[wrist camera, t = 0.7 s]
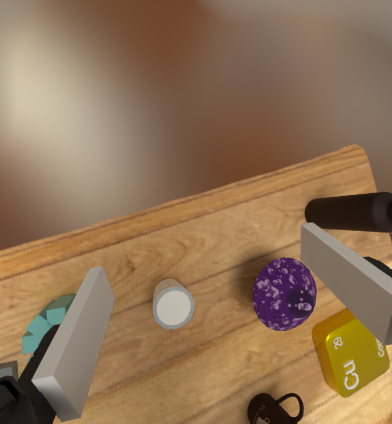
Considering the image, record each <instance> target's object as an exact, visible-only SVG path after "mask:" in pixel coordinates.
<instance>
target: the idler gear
mask: <svg viewBox="0 0 392 424" xmlns="http://www.w3.org/2000/svg"><path fill="white" fill-rule="evenodd" d="M75 296H76V294H71V295H64V296H60V297H59V298H58V299H57V300H56V301H55V300H53V301H52V302H51V303H50V304H49V305H48V306H47V307H45V308H44V309H43V310H42V311H41V312H40V313H39V314H38V315H37V316H36V318H35V319H34V320H33V321H32V322H31V323H30V324H29V325H28V326H27V327H26V328H25V329H26V330H27V332H26V333H25V334H24V335H23V337H22V347H23V354H27V353H32V352H35V350H36V348H38V345H39V343H40V341H41V340H42V338H43V336H44V335H45V334H46V332H47V331H48V330H49V329H50V328H51V327H52V326H53V325H57V324H61V323H62V321H63V319H64V317H65V315H66V313H67V311H68V310H69V308H70V306H71V304H72V302H73V300H74V298H75ZM32 356H33V354H32V355H31V357H32ZM31 357H30V358H29V359H28V362H29V360H30V359H31Z"/></svg>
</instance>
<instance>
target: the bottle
mask: <svg viewBox="0 0 392 424" xmlns="http://www.w3.org/2000/svg"><path fill="white" fill-rule="evenodd" d="M305 215H306V219H307V221H308V223H312V222H313V223H314V224H315V225H317V226H318V227H320V228H321V229H337V230H353V231H369V232H385V233H388V232H391V231H392V194H391V193H389V192H378V193H368V194H358V195H348V196H339V197H329V198H319V199H314V200H312V201H311V202H309V204H308V205H307V208H306V214H305Z"/></svg>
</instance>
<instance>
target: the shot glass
mask: <svg viewBox="0 0 392 424" xmlns="http://www.w3.org/2000/svg"><path fill="white" fill-rule="evenodd" d="M193 312H194V299H193V297H192V295H191V293H190V292H188V291H187V290H186V289H185V288H184V287H183V286H182V285H181V284H180V283H179V282H178V281H176V280H173V279H165V280H163V281H161V282H159V284H158V285H157V286H156V287H155V290H154V294H153V316H154V319H155V321H156V322H157V323H158V324H159V325H160V326H161V327H163V328H166V329H170V330H171V329H178V328H180V327H182V326H184V325H185V324H186V323H187V322H188V321H189V320H190V319H191V318H192V315H193Z"/></svg>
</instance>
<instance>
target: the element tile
mask: <svg viewBox="0 0 392 424" xmlns="http://www.w3.org/2000/svg"><path fill="white" fill-rule="evenodd" d="M312 337H313V341H314V344H315V348H316V351H317V355H318V358H319V361H320V365H321V368H322V372H323V375H324V379H325V381H326V383H327V384H328V385H329V386H330V387H331V388H332V389H334V390H335V391H336V392H337V393H338V394H339V395H340V396H342V397H344V398H346V397H349V396H351V395H352V394H354V393H355V392H357V391H358V390H360V389H361V388H363V387H364V386H366V385H367V384H369V383H370V382H372V381H373V380H375V379H376V378H377V377H379V376H380V375H382V374H383V373H385V372H386V371H387V370H388V369H389V357H388V354H387V350H386V346H383V345H382V344H381V342H380V341H379V340H378V339H377V338H376V337H375V336H374V335H373V334H372V333H371V332H370V331H369V330H368V329H367V328H366V327H365V326H364V325H363V324H362V323H361V322H360V321H359V320H358V319H357V318H356V316H355V315H354V314H353V313H352V312H351V311H350V310H349V309H348V308H346V309H344V310H342V311H340V312H339V313H337V314H335V315H333V316H331V317H329V318H327V319H326V320H324V321H322V322H320V323H318V324H317V325H315V327H314V328H313V330H312Z"/></svg>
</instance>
